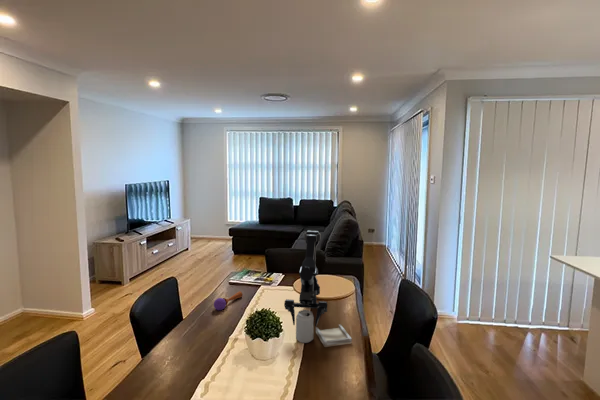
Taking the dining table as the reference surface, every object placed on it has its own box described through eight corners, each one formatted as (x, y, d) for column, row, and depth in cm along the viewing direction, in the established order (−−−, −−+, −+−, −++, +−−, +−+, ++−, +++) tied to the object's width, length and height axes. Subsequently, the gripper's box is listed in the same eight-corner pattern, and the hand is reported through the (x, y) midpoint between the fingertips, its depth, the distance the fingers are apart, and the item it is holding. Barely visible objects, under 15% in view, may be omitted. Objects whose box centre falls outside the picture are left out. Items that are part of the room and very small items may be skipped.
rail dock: (315, 332, 144) (315, 327, 144) (340, 328, 147) (340, 324, 147) (324, 347, 133) (324, 342, 133) (351, 343, 136) (351, 338, 136)
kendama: (245, 291, 178) (221, 302, 160) (243, 301, 179) (219, 313, 161) (236, 287, 180) (212, 298, 162) (234, 297, 181) (210, 309, 163)
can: (311, 345, 134) (312, 318, 133) (294, 342, 136) (294, 315, 134) (314, 335, 141) (315, 309, 140) (297, 333, 143) (298, 307, 141)
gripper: (285, 281, 140) (280, 318, 131) (328, 284, 139) (327, 321, 129) (287, 291, 149) (283, 326, 140) (327, 294, 147) (326, 329, 138)
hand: (304, 325), depth 136 cm, fingers open, 9 cm apart
